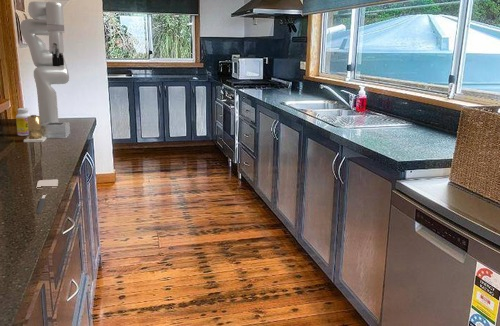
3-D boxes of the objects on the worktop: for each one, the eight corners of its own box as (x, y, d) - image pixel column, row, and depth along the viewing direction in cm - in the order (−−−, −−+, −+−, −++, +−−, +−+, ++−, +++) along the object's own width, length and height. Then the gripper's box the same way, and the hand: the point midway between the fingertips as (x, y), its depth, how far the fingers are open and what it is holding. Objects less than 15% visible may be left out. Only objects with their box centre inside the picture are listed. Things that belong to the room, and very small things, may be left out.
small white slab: (58, 183, 150) (58, 179, 150) (51, 214, 123) (50, 209, 123) (38, 184, 148) (38, 180, 148) (26, 216, 121) (25, 210, 121)
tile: (28, 138, 215) (28, 136, 215) (46, 138, 217) (46, 136, 217) (23, 142, 208) (23, 140, 207) (42, 141, 209) (42, 139, 209)
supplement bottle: (26, 136, 220) (24, 110, 217) (14, 135, 221) (11, 109, 218) (35, 134, 227) (33, 108, 223) (23, 133, 228) (21, 107, 225)
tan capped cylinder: (30, 137, 214) (28, 114, 212) (43, 136, 215) (41, 114, 213) (27, 139, 209) (25, 116, 207) (40, 139, 210) (38, 116, 208)
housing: (47, 133, 228) (46, 121, 227) (70, 133, 230) (69, 121, 229) (41, 138, 217) (40, 125, 215) (65, 138, 219) (65, 125, 217)
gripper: (51, 29, 226) (54, 64, 230) (43, 28, 210) (46, 66, 214) (67, 29, 228) (69, 65, 232) (60, 28, 211) (63, 66, 215)
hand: (58, 65), depth 223 cm, fingers open, 9 cm apart
